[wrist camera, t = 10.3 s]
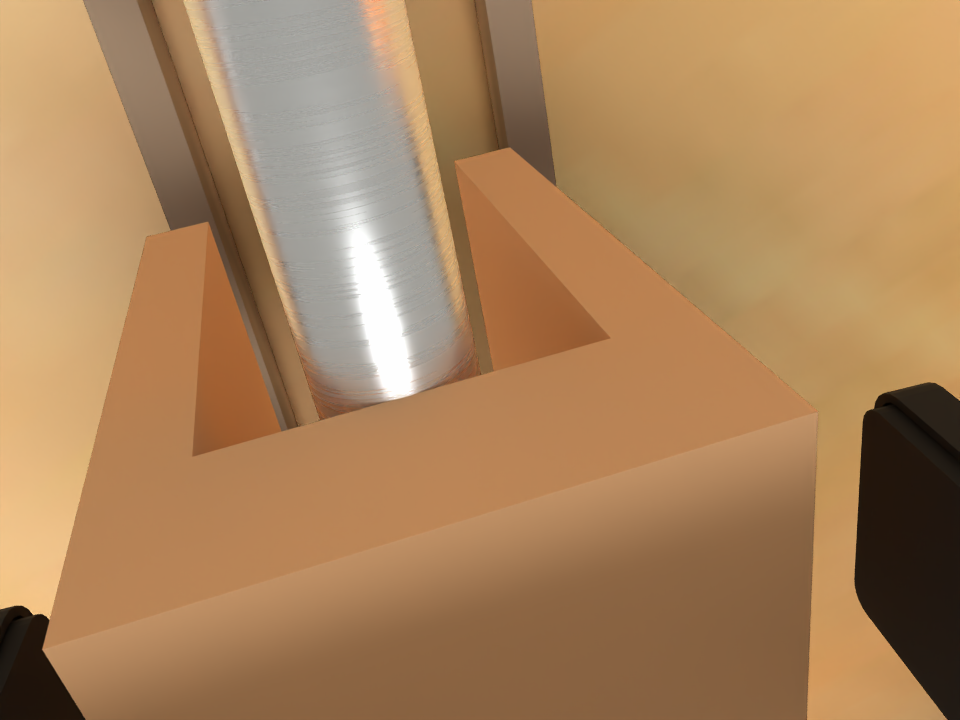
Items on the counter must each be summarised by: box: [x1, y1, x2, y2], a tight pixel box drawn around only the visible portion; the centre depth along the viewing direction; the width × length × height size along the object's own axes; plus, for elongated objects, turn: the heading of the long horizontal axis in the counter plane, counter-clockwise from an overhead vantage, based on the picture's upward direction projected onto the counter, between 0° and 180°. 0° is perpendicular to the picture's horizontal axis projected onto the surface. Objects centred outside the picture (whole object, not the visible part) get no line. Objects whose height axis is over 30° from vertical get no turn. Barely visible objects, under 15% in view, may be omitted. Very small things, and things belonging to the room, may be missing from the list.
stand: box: [83, 0, 556, 431], centre depth 15 cm, size 23×9×14 cm, turn 10°
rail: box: [183, 0, 481, 421], centre depth 10 cm, size 21×2×2 cm, turn 10°
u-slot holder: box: [42, 147, 818, 720], centre depth 12 cm, size 5×6×9 cm
